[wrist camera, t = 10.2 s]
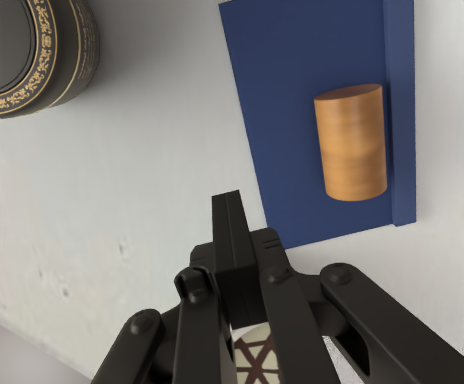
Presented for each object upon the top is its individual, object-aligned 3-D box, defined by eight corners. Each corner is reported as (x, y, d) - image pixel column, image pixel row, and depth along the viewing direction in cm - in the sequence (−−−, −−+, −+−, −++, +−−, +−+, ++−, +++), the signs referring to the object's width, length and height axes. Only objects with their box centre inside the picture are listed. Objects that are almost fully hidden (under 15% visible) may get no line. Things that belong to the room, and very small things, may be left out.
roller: (347, 100, 20) (397, 82, 22) (300, 100, 25) (345, 85, 26) (357, 207, 23) (400, 184, 25) (314, 191, 28) (353, 172, 29)
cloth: (218, 4, 23) (218, 2, 22) (405, -45, 23) (413, -50, 22) (273, 250, 31) (274, 256, 30) (410, 217, 31) (416, 222, 30)
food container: (200, 245, 31) (196, 324, 21) (262, 237, 31) (285, 311, 21) (217, 339, 35) (219, 436, 26) (271, 331, 35) (292, 426, 26)
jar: (-25, 97, 24) (-122, 109, 17) (-49, -59, 21) (-185, -125, 14) (108, 114, 25) (68, 132, 18) (107, -32, 22) (57, -79, 15)
